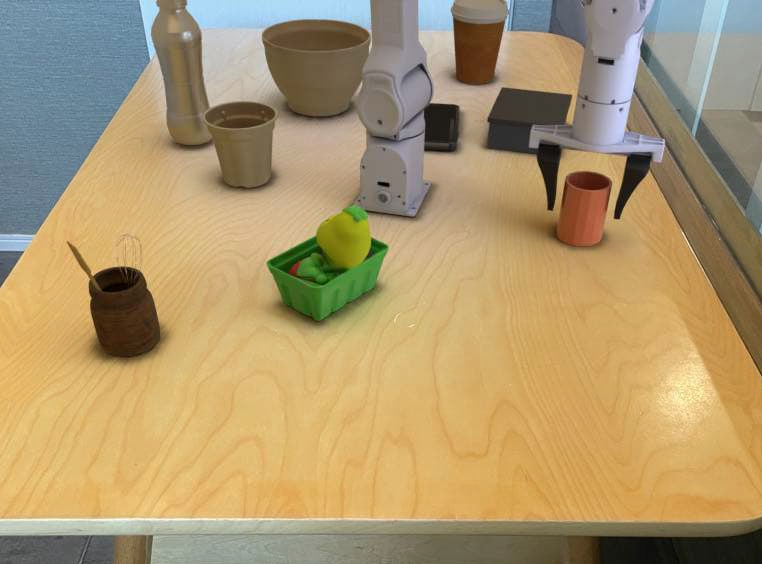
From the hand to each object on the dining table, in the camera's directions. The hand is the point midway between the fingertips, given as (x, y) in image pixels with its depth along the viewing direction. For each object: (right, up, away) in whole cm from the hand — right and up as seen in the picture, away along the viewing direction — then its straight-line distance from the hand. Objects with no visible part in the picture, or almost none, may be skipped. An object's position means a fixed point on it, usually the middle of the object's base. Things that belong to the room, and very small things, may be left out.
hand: (583, 211), depth 96 cm
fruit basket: (-29, -11, -9) cm, 32 cm away
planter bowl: (-34, +24, +32) cm, 53 cm away
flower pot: (-42, +7, +12) cm, 44 cm away
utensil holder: (-48, -17, -15) cm, 53 cm away
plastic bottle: (-51, +15, +21) cm, 57 cm away
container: (-3, +17, +25) cm, 30 cm away
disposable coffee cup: (-9, +33, +43) cm, 55 cm away
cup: (0, -2, +2) cm, 3 cm away
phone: (-17, +18, +26) cm, 36 cm away
